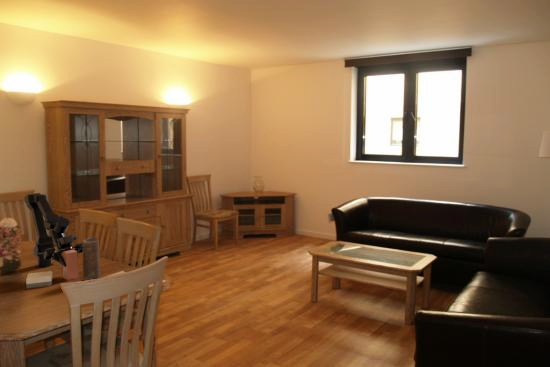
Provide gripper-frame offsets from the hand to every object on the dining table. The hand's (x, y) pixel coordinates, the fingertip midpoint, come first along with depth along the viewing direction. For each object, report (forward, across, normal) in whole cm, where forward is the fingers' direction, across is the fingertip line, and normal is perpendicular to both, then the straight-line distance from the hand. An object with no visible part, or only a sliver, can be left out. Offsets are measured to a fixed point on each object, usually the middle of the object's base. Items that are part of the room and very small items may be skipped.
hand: (71, 265), depth 216 cm
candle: (+12, +5, -2) cm, 13 cm away
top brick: (+4, 0, +6) cm, 7 cm away
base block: (+2, -13, +8) cm, 15 cm away
